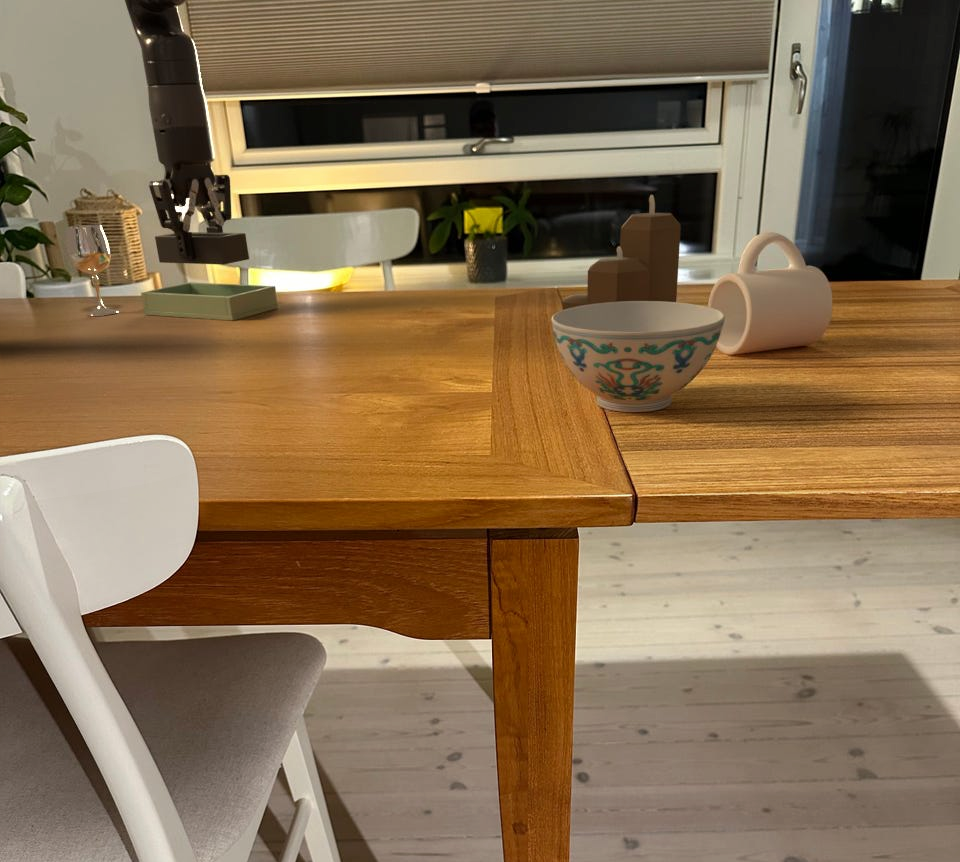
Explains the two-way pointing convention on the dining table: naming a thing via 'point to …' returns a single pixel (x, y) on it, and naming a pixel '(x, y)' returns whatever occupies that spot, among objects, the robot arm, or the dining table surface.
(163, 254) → the dark brown rectangular box
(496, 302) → the dining table surface
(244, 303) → the tray
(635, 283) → the candle
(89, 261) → the wineglass
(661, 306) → the chinaware
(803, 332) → the mug
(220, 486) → the dining table surface
